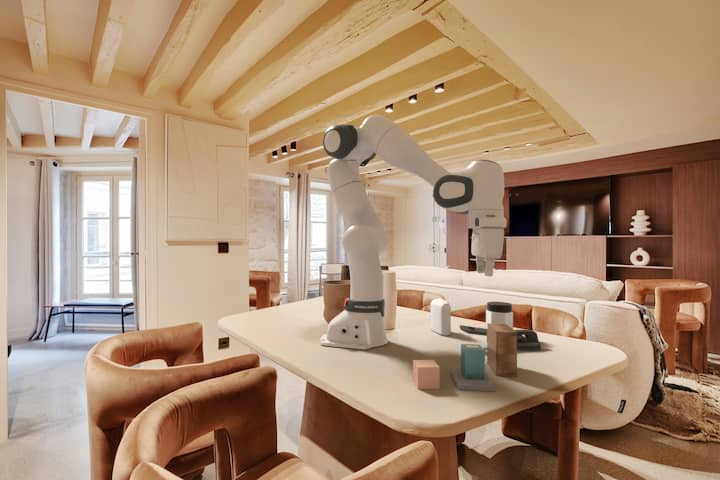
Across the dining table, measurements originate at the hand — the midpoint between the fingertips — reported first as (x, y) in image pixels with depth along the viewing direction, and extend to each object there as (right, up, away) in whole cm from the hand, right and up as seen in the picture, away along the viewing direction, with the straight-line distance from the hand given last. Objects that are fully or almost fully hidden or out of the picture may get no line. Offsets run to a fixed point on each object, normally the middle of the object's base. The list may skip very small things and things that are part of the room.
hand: (484, 274), depth 94 cm
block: (-17, -25, -10) cm, 32 cm away
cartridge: (-6, -24, -8) cm, 26 cm away
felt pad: (-6, -25, -8) cm, 27 cm away
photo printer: (-3, -25, +38) cm, 46 cm away
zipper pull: (+12, -26, +20) cm, 35 cm away
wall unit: (+4, -25, 0) cm, 25 cm away
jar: (+16, -26, +32) cm, 44 cm away
